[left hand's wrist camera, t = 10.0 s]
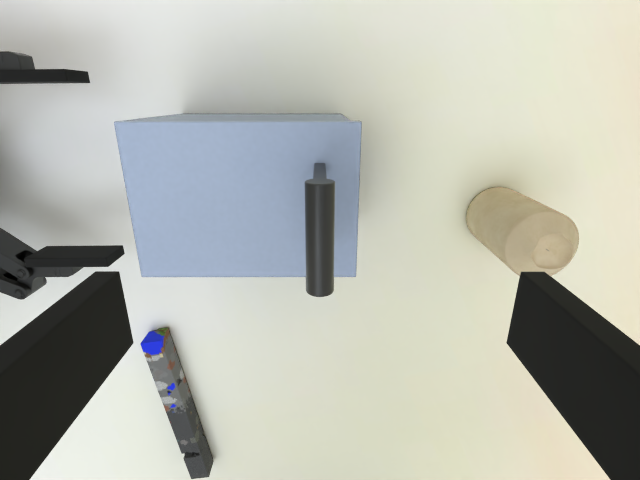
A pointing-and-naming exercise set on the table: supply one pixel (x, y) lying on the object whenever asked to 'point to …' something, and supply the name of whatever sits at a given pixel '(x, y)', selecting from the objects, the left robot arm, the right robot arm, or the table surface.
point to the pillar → (177, 401)
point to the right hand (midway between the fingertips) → (99, 173)
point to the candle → (522, 231)
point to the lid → (244, 198)
